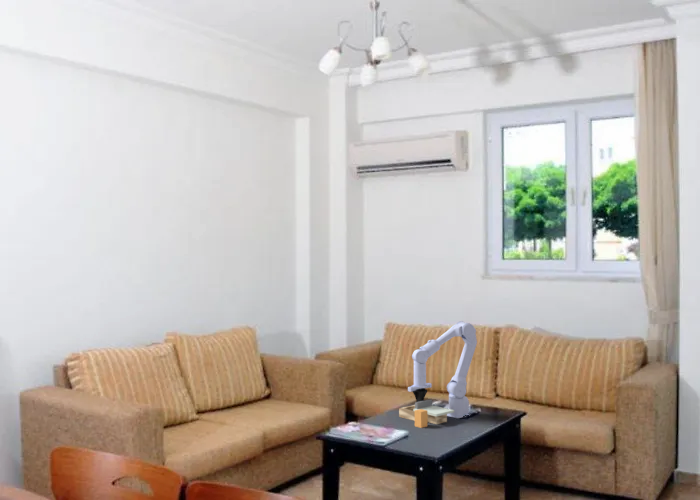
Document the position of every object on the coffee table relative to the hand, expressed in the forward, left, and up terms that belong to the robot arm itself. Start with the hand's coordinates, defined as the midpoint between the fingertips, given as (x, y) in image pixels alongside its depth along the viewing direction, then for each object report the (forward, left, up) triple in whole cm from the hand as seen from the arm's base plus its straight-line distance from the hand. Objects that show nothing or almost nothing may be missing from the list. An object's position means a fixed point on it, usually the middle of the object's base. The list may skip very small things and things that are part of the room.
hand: (419, 405), depth 339 cm
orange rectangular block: (+11, +11, -6) cm, 17 cm away
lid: (0, +9, -2) cm, 9 cm away
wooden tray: (0, +3, -6) cm, 7 cm away
